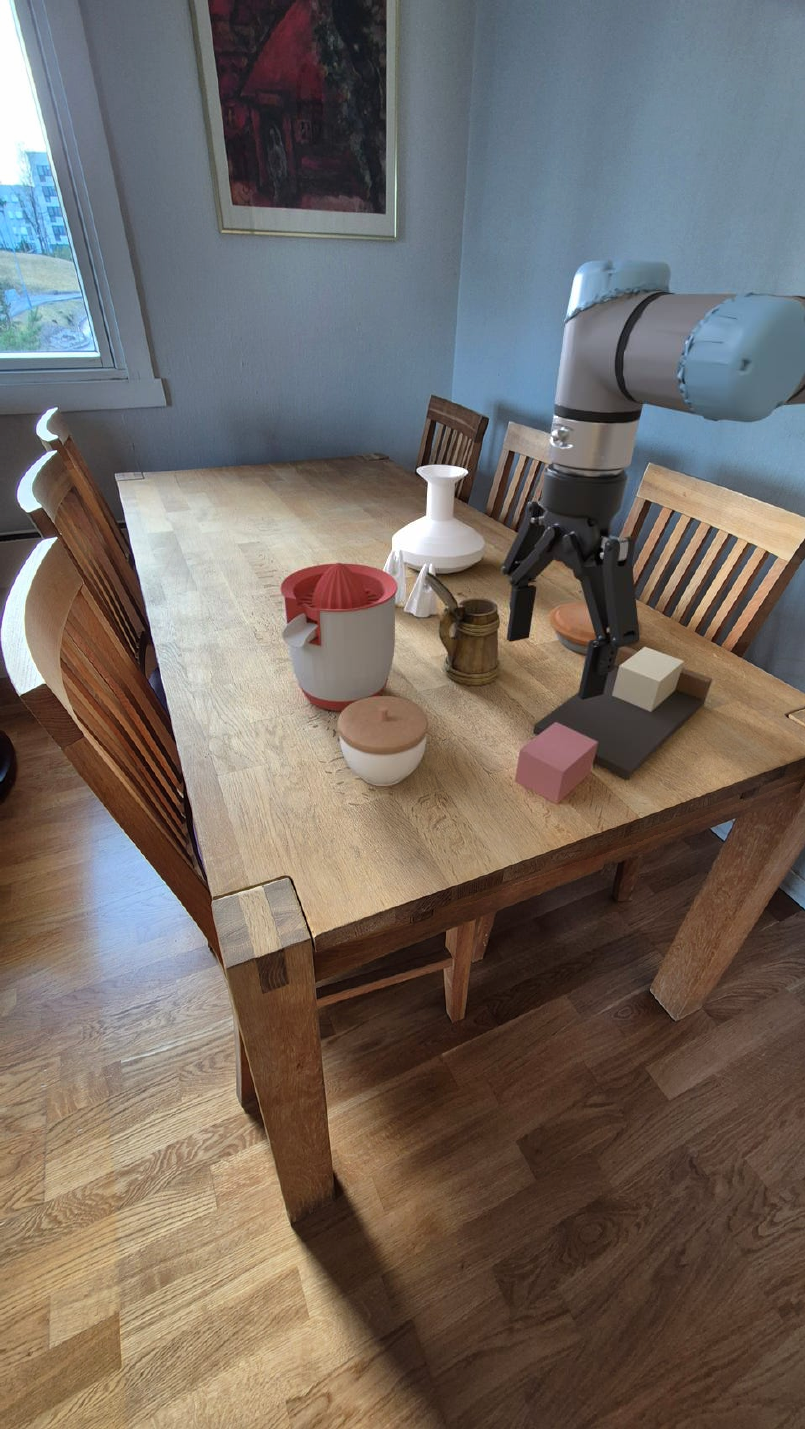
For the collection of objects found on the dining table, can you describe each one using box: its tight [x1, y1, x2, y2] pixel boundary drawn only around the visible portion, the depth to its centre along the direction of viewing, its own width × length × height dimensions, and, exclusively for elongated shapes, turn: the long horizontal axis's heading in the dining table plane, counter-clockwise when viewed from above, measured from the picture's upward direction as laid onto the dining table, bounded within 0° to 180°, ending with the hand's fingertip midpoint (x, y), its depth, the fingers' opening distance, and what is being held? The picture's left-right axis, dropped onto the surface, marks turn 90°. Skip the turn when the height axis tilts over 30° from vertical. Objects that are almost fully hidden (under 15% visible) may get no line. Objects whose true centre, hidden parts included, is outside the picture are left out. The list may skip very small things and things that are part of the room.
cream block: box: [612, 646, 685, 712], centre depth 90 cm, size 6×8×5 cm
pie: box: [548, 600, 643, 656], centre depth 107 cm, size 15×16×5 cm
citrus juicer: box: [279, 562, 398, 712], centre depth 87 cm, size 16×17×20 cm
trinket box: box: [337, 695, 429, 787], centre depth 76 cm, size 11×11×9 cm
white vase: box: [392, 464, 486, 574], centre depth 131 cm, size 20×20×19 cm
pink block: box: [514, 722, 598, 805], centre depth 77 cm, size 6×8×5 cm
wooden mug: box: [425, 572, 502, 686], centre depth 93 cm, size 9×14×18 cm, turn 118°
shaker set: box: [382, 549, 438, 618], centre depth 114 cm, size 12×4×11 cm, turn 60°
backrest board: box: [532, 646, 713, 781], centre depth 88 cm, size 14×24×4 cm, turn 137°
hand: (551, 665), depth 70 cm, fingers open, 13 cm apart
